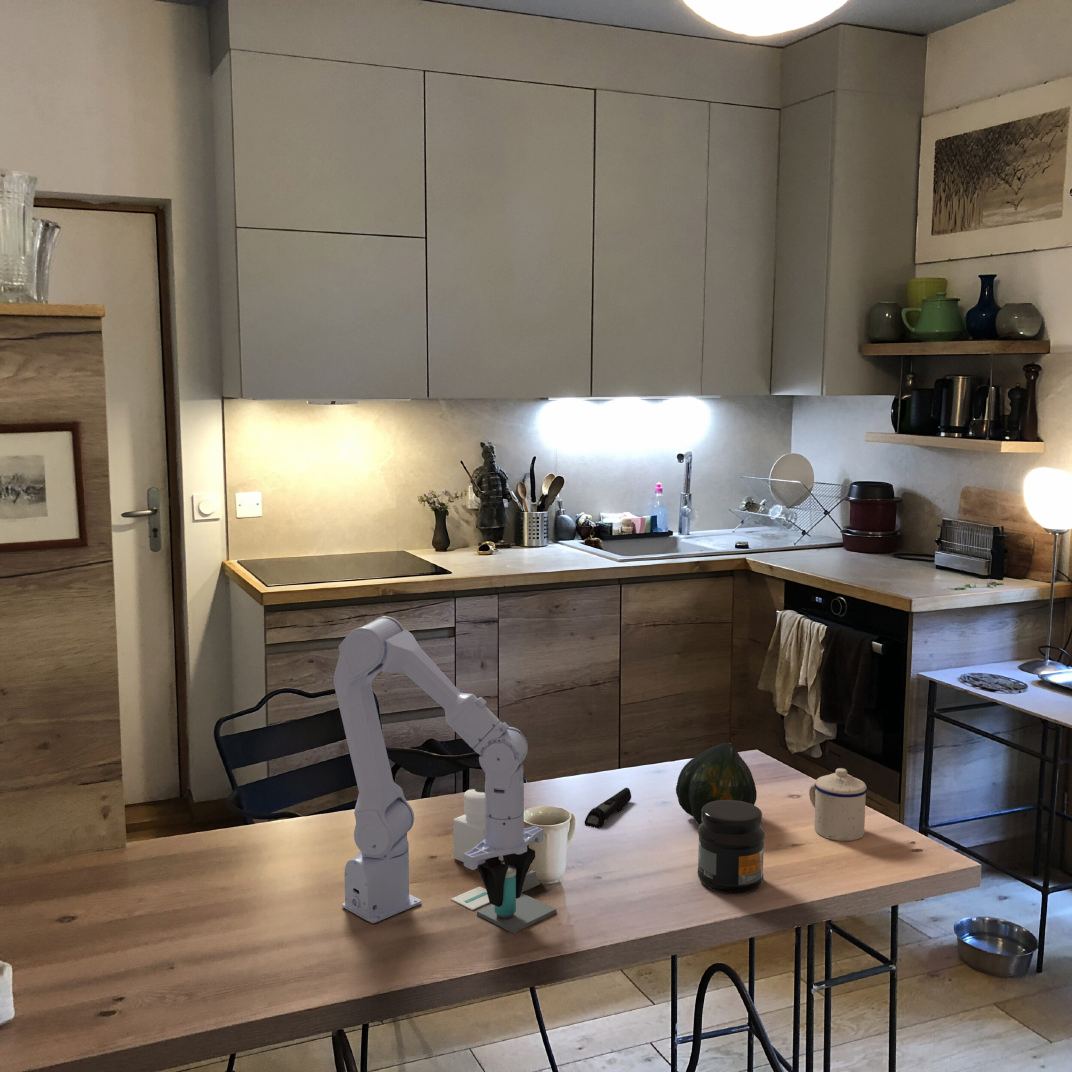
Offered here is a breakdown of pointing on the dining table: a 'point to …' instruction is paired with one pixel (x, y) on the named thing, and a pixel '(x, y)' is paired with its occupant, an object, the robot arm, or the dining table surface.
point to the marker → (508, 895)
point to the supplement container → (731, 846)
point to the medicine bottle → (470, 823)
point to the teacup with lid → (839, 806)
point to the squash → (714, 780)
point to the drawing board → (519, 914)
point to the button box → (530, 881)
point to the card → (472, 898)
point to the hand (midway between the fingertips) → (504, 900)
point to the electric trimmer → (608, 808)
